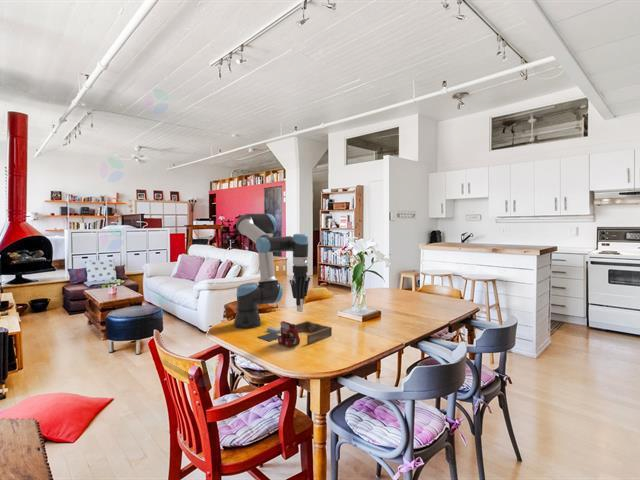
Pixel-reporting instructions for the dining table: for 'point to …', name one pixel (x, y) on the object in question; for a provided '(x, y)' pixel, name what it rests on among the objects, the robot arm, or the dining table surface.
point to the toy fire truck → (288, 334)
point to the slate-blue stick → (273, 330)
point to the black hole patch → (269, 337)
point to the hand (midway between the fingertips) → (299, 311)
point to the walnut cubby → (318, 330)
